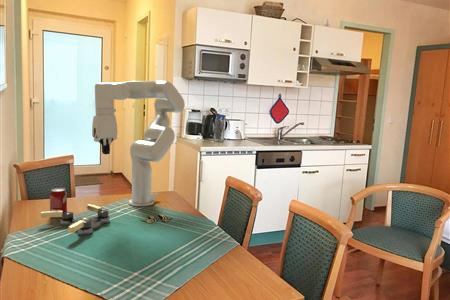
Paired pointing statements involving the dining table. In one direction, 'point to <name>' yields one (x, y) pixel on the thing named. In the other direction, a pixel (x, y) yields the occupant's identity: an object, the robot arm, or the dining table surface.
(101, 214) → the knob
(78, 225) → the knob
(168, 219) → the dining table surface
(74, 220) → the tribrach
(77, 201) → the dining table surface
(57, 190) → the soda can
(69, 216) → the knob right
